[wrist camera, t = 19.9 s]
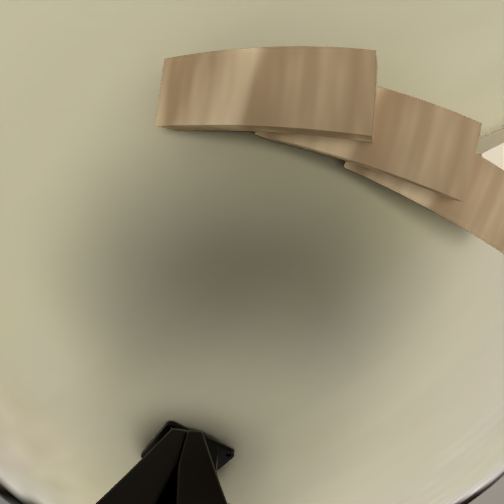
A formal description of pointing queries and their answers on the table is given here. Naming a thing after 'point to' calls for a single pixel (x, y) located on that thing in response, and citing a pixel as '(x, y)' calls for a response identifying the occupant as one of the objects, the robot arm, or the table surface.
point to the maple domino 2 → (406, 144)
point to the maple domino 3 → (461, 213)
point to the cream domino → (492, 148)
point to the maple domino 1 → (272, 91)
